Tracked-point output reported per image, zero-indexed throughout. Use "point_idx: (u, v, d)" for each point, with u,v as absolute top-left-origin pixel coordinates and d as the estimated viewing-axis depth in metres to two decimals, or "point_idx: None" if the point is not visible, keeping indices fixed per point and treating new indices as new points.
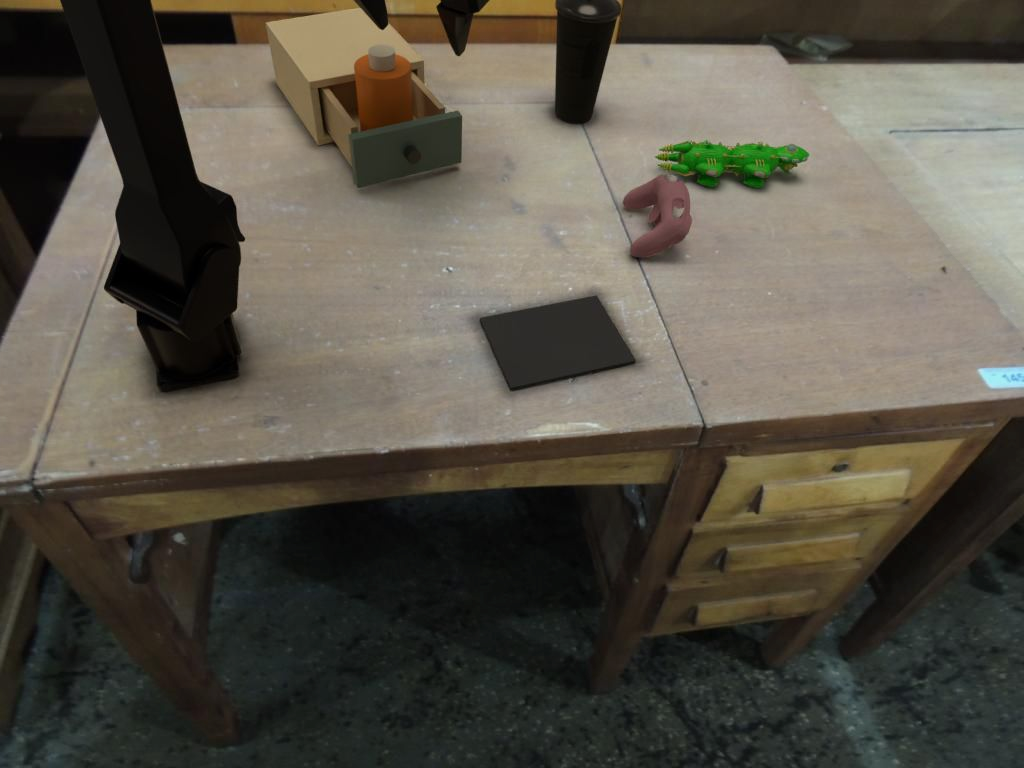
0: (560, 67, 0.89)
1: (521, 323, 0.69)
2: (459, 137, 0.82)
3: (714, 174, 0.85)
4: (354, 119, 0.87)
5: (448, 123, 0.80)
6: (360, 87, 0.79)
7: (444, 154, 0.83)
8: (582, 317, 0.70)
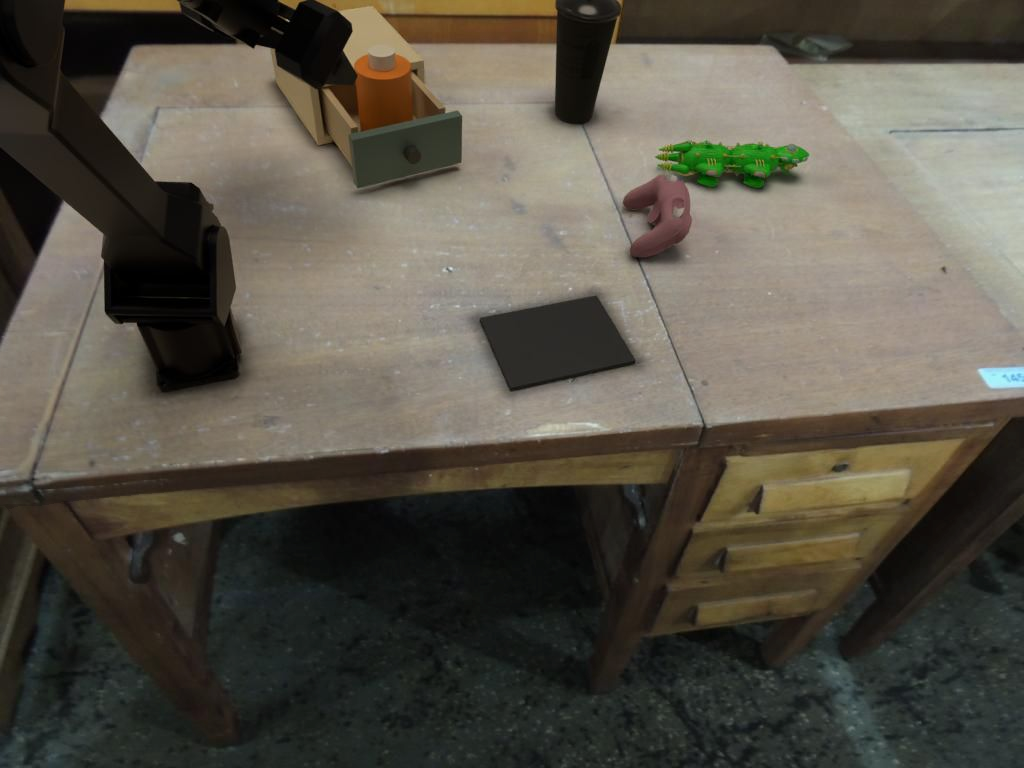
0: (560, 67, 0.89)
1: (521, 323, 0.69)
2: (459, 137, 0.82)
3: (714, 174, 0.85)
4: (354, 119, 0.87)
5: (448, 123, 0.80)
6: (360, 87, 0.79)
7: (444, 154, 0.83)
8: (582, 317, 0.70)
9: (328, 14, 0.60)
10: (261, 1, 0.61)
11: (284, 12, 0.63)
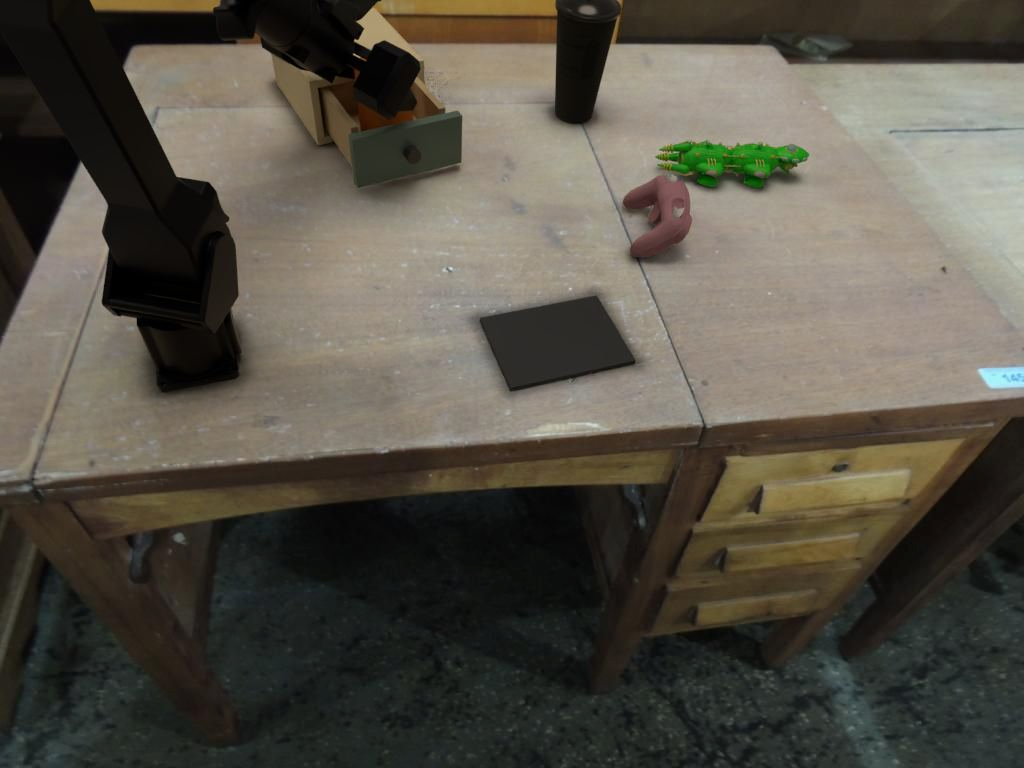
0: (560, 67, 0.89)
1: (521, 323, 0.69)
2: (459, 137, 0.82)
3: (714, 174, 0.85)
4: (354, 119, 0.87)
5: (448, 123, 0.80)
6: None
7: (444, 154, 0.83)
8: (582, 317, 0.70)
9: (401, 55, 0.69)
10: (340, 43, 0.70)
11: (358, 50, 0.72)
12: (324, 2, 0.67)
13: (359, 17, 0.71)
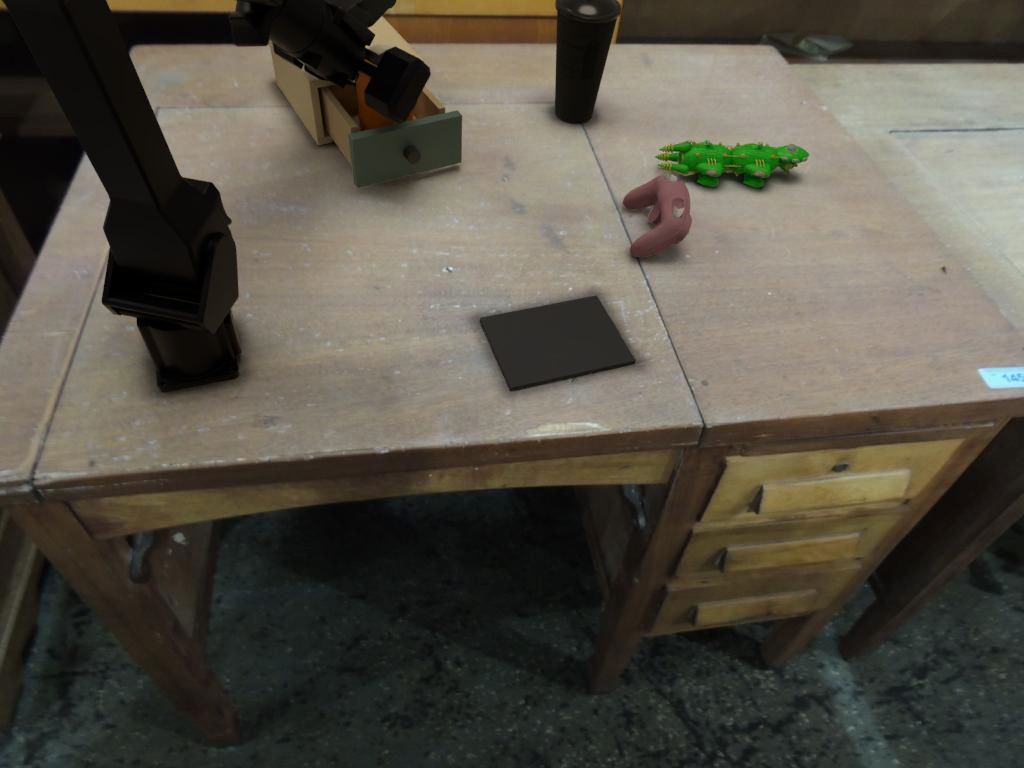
0: (560, 67, 0.89)
1: (521, 323, 0.69)
2: (459, 136, 0.82)
3: (714, 174, 0.85)
4: (354, 119, 0.87)
5: (448, 123, 0.80)
6: (360, 87, 0.79)
7: (444, 154, 0.83)
8: (582, 317, 0.70)
9: (411, 61, 0.70)
10: (352, 49, 0.71)
11: None
12: (337, 9, 0.68)
13: (370, 24, 0.72)
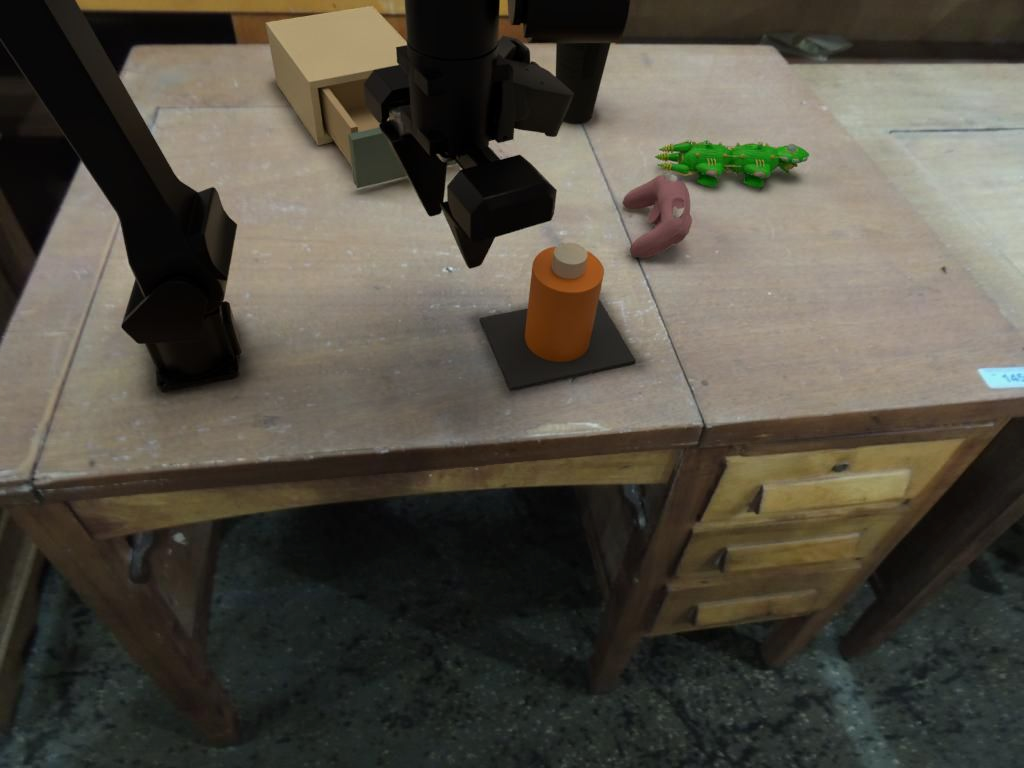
0: (560, 67, 0.89)
1: (521, 323, 0.69)
2: None
3: (714, 174, 0.85)
4: (354, 119, 0.87)
5: None
6: None
7: None
8: None
9: (548, 183, 0.47)
10: (481, 124, 0.48)
11: None
12: (507, 64, 0.47)
13: (517, 125, 0.51)
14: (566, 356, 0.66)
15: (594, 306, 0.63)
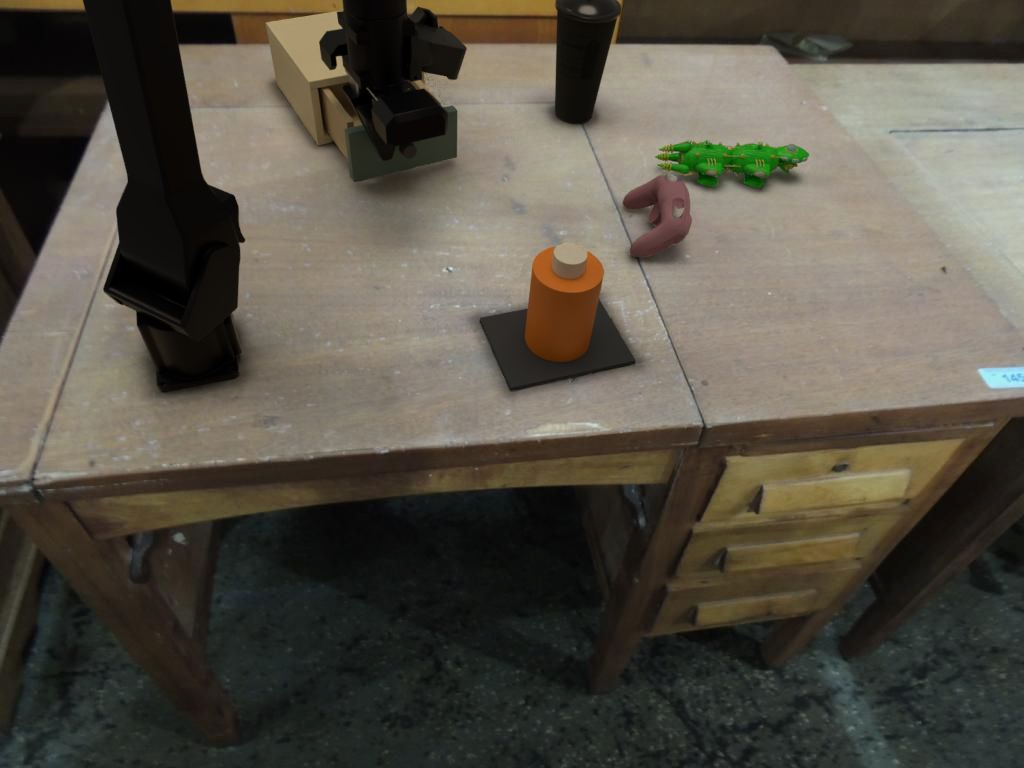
0: (560, 67, 0.89)
1: (521, 323, 0.69)
2: (454, 131, 0.83)
3: (714, 174, 0.85)
4: (350, 114, 0.88)
5: None
6: None
7: (440, 149, 0.84)
8: None
9: (441, 106, 0.67)
10: (396, 67, 0.69)
11: None
12: (413, 24, 0.68)
13: (425, 69, 0.71)
14: (566, 356, 0.66)
15: (594, 306, 0.63)
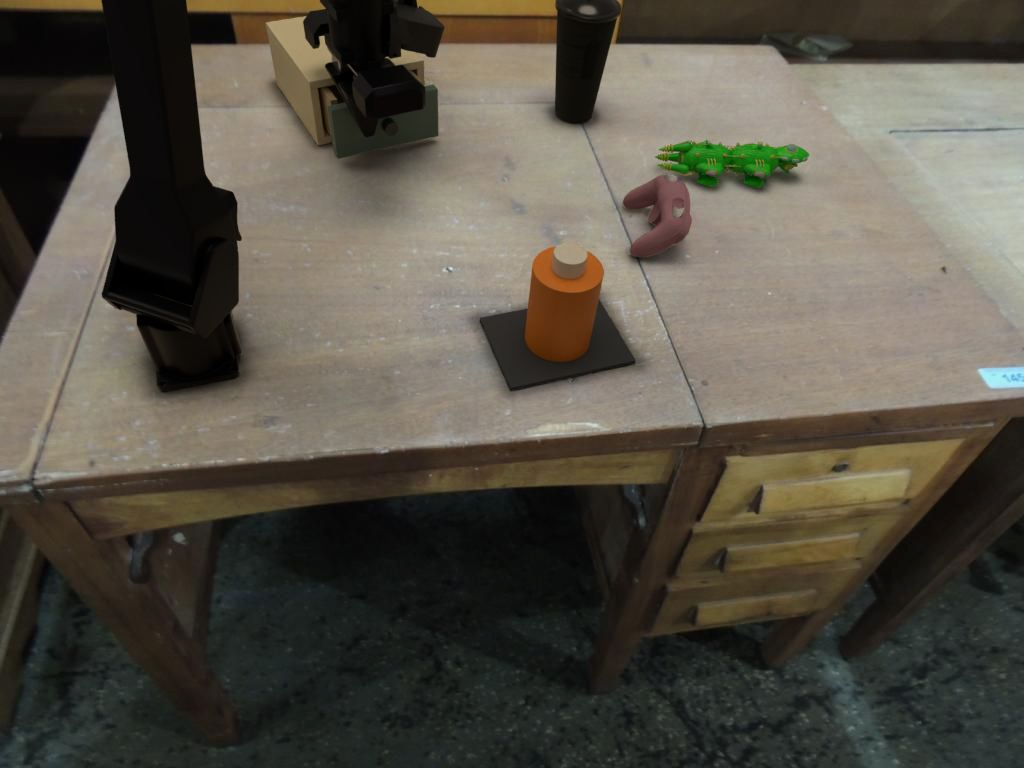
0: (560, 67, 0.89)
1: (521, 323, 0.69)
2: (435, 110, 0.86)
3: (714, 174, 0.85)
4: (335, 94, 0.91)
5: None
6: None
7: (421, 127, 0.86)
8: None
9: (418, 81, 0.70)
10: (376, 44, 0.72)
11: None
12: (392, 2, 0.70)
13: (404, 47, 0.74)
14: (566, 356, 0.66)
15: (594, 306, 0.63)
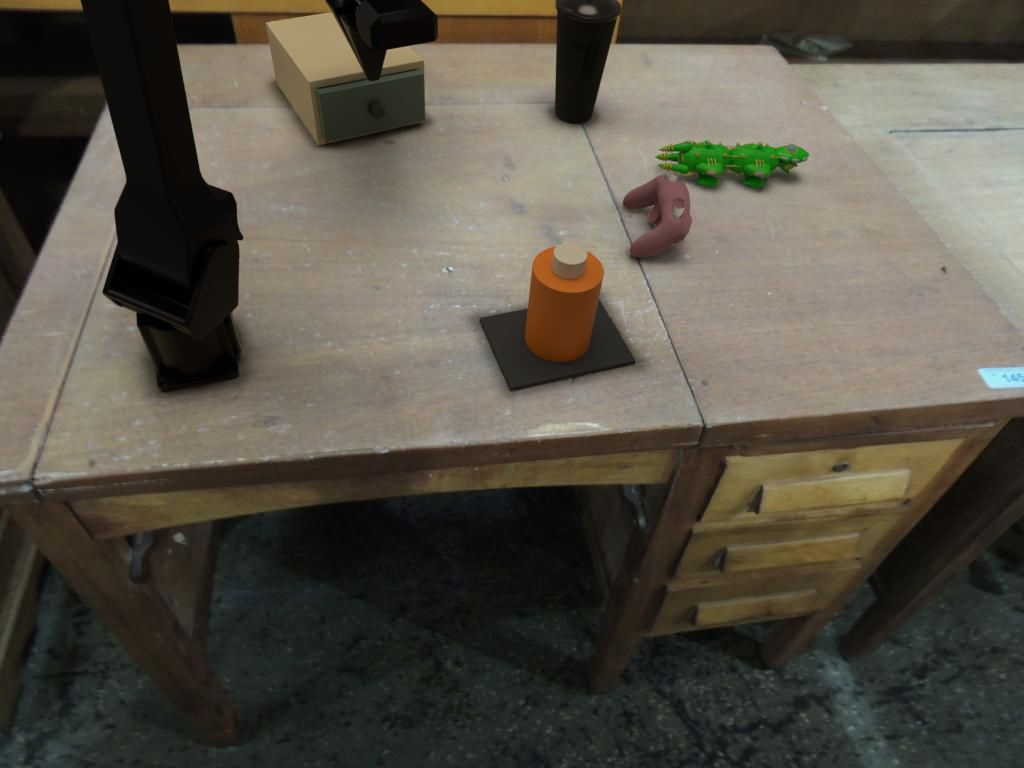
0: (560, 67, 0.89)
1: (521, 323, 0.69)
2: (422, 94, 0.88)
3: (714, 174, 0.85)
4: None
5: (410, 81, 0.86)
6: None
7: (408, 111, 0.88)
8: None
9: None
10: None
11: None
12: None
13: None
14: (566, 356, 0.66)
15: (594, 306, 0.63)
